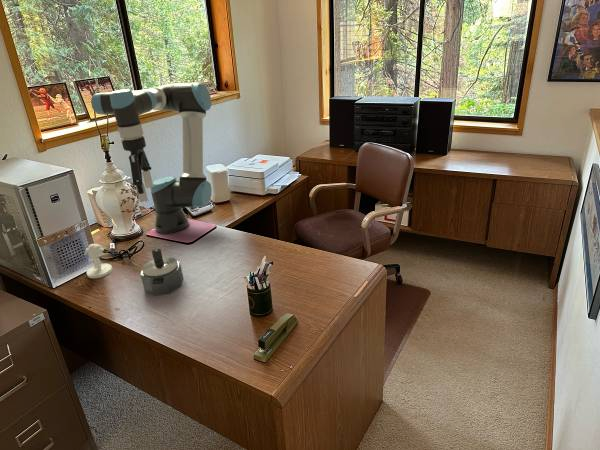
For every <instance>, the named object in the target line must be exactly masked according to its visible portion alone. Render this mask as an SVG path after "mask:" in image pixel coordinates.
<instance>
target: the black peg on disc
mask: <svg viewBox="0 0 600 450" xmlns="http://www.w3.org/2000/svg"><path fill="white" fill-rule="evenodd" d="M151 254H152V258H153V259H152V260H149V261H147V262H146V263H145V264H143V266H142V267H141V272H142V271H143V274H144V275H145V276H148V277H160V276H164V275H167V274H169V273H171V272H173V271H174V270H175V269H176V268H177V266H178V263H177V261H178V260H177V259H175V257H170V256H169V257H168V256H163V254H162V250H161V248H154V249H152V250H151Z"/></svg>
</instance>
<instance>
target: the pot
mask: <svg viewBox="0 0 600 450" xmlns="http://www.w3.org/2000/svg"><path fill="white" fill-rule="evenodd" d="M177 263H178V266H177V268H176V269H175V270H174V271H173V272H171V273H169V274H167V275H164V276H160V277H148V276H145V275H144V274H143V271H142V270H141V272H140V278H141V281H142V285H143V290H144V292H146V293H148V294H150V295H152V296H154V297H156V296H162V295H171V294H172V293H173V292H175V291H177V290H178V289H180V288H181V286H183V282H184V276H183V271H182V266H181V262H180V261H179V260H177Z"/></svg>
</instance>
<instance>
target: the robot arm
mask: <svg viewBox="0 0 600 450" xmlns="http://www.w3.org/2000/svg"><path fill="white" fill-rule="evenodd" d="M90 104H91V108H92V110H93V112H94V113H95V114H97V115H104V116H106V115H108V116H109V115H114V119H115V122H116V126H117V129H116V132H117V133H118V132H119V136H120V138H121V144H122V148H123V150H124V151H127V152H130V155H129V156H128V159H129V165H130V171H131V172H130V173H131V178H132V179H131V180H132V183H131V184H132V186H133V187H134V186H135V189H136V193H137V196H138V201H139V203H143V202H148V201H149V198H148V194H147V191H146V189H150V194H151V198H152V201H153V207H154V210H155V219H154V220H155V221H154V227H155V228H154V229H155V231H156V233H157V232H158V233H160V234H172V233H178V232H180V231H183V230H184V229H186V228H187V227H188V226H189V219H188V217H187V215H186V213H185V212H184V210H183V208H195V209H197V208H204V207H206V206H207V205H208V204H209V202H210V201H211V198H212V192H213V189H212V185H211V184H212V183H210V182H209V180H207V176H206V175H205V174H204V157H203V156H204V154H203V153H204V152H203V151H204V149H203V148H204V147H203V145H204V144H203V141H204V139H203V138H204V137H203V130H204V129H203V123H204V122H203V120H204V118H205V117H206V116H207V111H209V110H210V109H211V107H212V97H211V94H210V91H209V89H208V88H207V86H206V85H205V84H204V83H202V82H194V81H193V82H185V83H184V82H183V83H182V82H181V83H168V84H163V85H160V86H153V87H150V88H149V89H146V88H145V89H139V90H131V89H128V88H127V89H118V90H113V91H111V92H98V93H95V94H93V95H92V97H91V99H90ZM151 111H170V112H178V115H179V116H180V117H181V118H182V173H181V175H179V180H177V178H176V177H175V176H171V175H170V176H165V177H161V178H158V179H156V180H152V179H153V178H152V176H151V170H152V166H151V165H150V163H149V160H148V157H147V155H146V152H145V150H144V148H146V147H147V143H146V141H145V136H143V135H144V131H143V126H142V123H141V119H140V116H142V115H143V114H146V113H150V112H151ZM143 182H144V183H143Z"/></svg>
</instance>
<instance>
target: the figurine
mask: <svg viewBox="0 0 600 450" xmlns="http://www.w3.org/2000/svg"><path fill="white" fill-rule="evenodd" d="M104 250H105V248H103V245H100V244H98V243H90V244H89V245H88V247H86V248H85V252H84V256H85V255H87V254H88V256H89V259H88V263H90V264H91V267H90V268H89V269H87V270H86V276H87V277H88V278H90V279H99V278H100V279H101V278H103V277H106V276H107V275H109V274H111V272H112V271H113V266H112V264H110V263H105V262H102V261H101V259H100V257H101V256H102V255H104V254H105V253H104ZM92 262H93V264H92Z"/></svg>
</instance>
